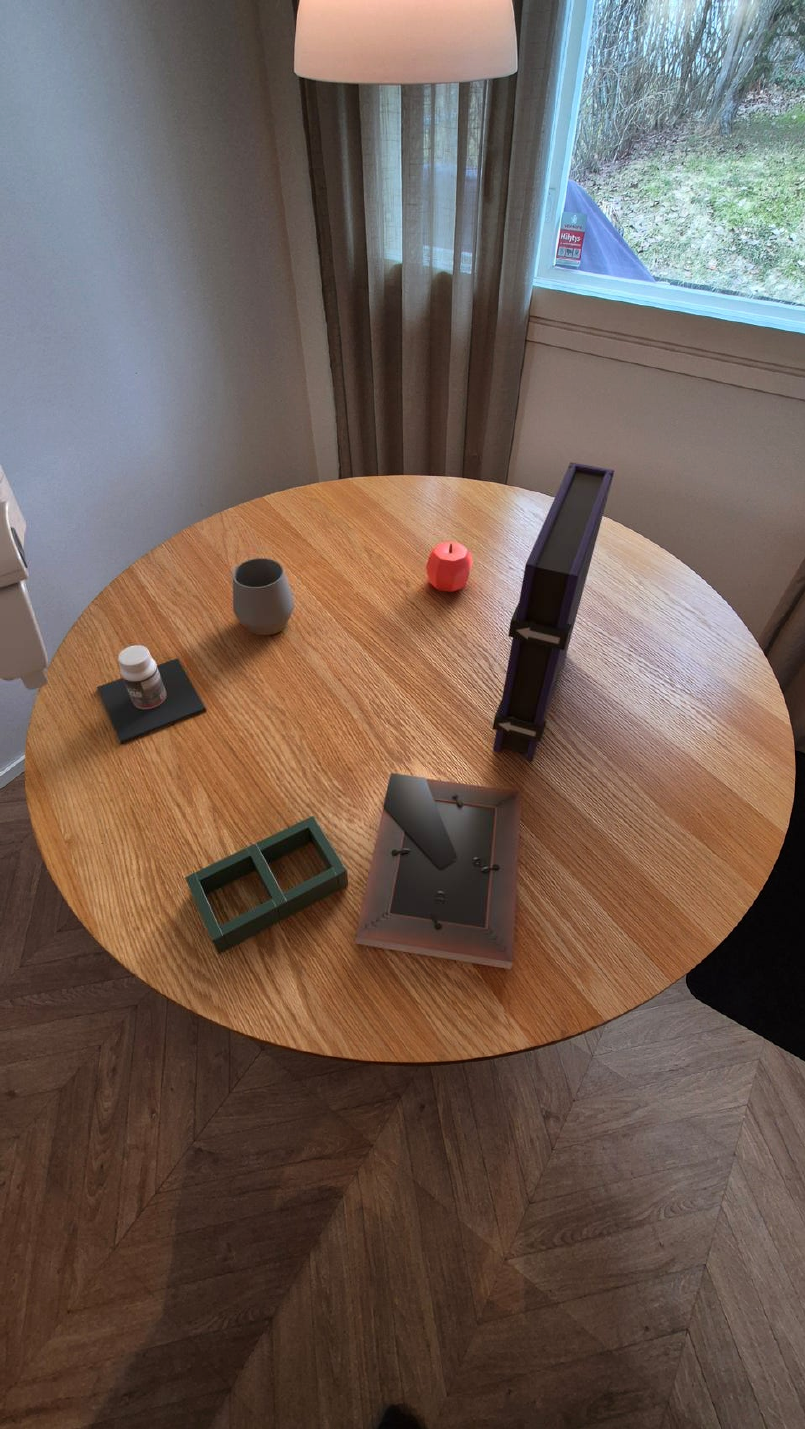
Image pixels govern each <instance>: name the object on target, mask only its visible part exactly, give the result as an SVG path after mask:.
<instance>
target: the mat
mask: <svg viewBox="0 0 805 1429" xmlns="http://www.w3.org/2000/svg"><path fill="white" fill-rule="evenodd" d="M156 665H157V668H158V671H159V673H160V676H161V679H162V682H163V685H164V687H165V690H166V698H165V700H164V702H163V703H162V704H160V705H159V706H157V707H155V708H152V709H140V708H138V707H136V706H135V705H134V704H133V702H132V700H131V697H130V695H129V693H128V690H127V688H126V686H125V683H124V681H123V679H122V677H120V678H118V679H115V680H112V681H110V682H107V683H104V684H102V685H98V686H97V687H96V689H97V691H98V693H99V696H100V698H101V701H102V703H103V705H104V707H105V710H106V712H107V714H108V717H109V719H110V722H111V724H112V727H113V730H114V732H115V733H116V737H117V738H118V741H119V744H120V745H122V744H125V743H128V742H130V741H133V740H135V739H138V738H140V737H143V736H145V735H148V734H151V733H153V732H156V731H158V730H161V729H163V728H166V727H168V726H171V725H173V724H176V723H178V722H181V721H183V720H184V721H185V720H186V719H188V718H191V717H194V716H196V715H199V714H201V713H205V712H207V708H206V706H205V704H204V703H203V701H202V699H201V697H200V695H199V693H198V692H197V690H196V689H195V687H194V685H193V683H192V681H191V679H190V677H189V676H188V674H187V672H186V670H185V669H184V667H183V665H182V663H181V662H180V660H179V658H178V657H176V658H174V659H171V660H168V661H165V662H163V663H159V664H156Z"/></svg>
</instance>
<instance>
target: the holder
mask: <svg viewBox="0 0 805 1429" xmlns="http://www.w3.org/2000/svg"><path fill="white" fill-rule="evenodd" d="M331 843H332V842H330V840H329V839H328V837H327V835H326V834H325V832H324V831H323V829H322V827H321V825H320V824H319V822H318V821H317V818H315V815H312V816H309V817H307V818H306V819H303V820H300V821H299V822H297V823H295V824H292V825H291V826H289V827H286V828H284V829H281V830H280V831H278V832H276V833H274V834H272V835H270V836H268V837H265V838H264V839H261V840H259V841H258V842H256V843H254V844H251V845H250V846H247V847H244V848H243V849H240V850H239V851H236V852H235V853H232V854H231V855H228V856H226V857H224V858H222V859H220V860H218V861H216V862H214V863H212V864H210V865H207V866H205V867H203V868H201V869H199V870H197V871H195V872H193V873H191V874H189V875H186V876H185V877H184V879H185V882H186V884H187V886H188V889H189V891H190V893H191V896H192V898H193V900H194V903H195V905H196V907H197V910H198V912H199V914H200V916H201V919H202V921H203V924H204V926H205V928H206V931H207V933H208V935H209V937H210V940H211V941H212V944H213V946H214V948H215V950H216V952H217V954H218V955H221V954H223V953H225V952H227V951H229V950H230V949H232V948H234V947H236V946H238V945H240V944H241V943H243V942H245V941H247V940H250V939H251V938H252V937H255V936H256V935H258V934H261V933H262V932H264V931H266V930H268V929H270V928H272V927H274V926H275V925H277V924H279V923H281V922H283V921H285V920H286V919H288V918H290V917H291V916H294V915H296V914H298V913H300V912H302V911H303V910H306V909H307V908H309V907H311V906H313V905H314V904H316V903H318V902H321V901H322V900H324V899H326V898H327V897H330V896H332V895H333V894H335V893H337V892H339V891H341V890H343V889H344V888H347V887H348V886H349V878H348V870H347V868H346V866H345V865H344V863H343V861H342V860H341V858H340V856H339V855H338V853H337V851H336V850H335V848H334V847H333V845H332V844H331ZM310 844H311V845H312V846H313V847H312V848H314V850H315V852H316V854H317V855H318V857H319V858H320V860H321V862H322V863H323V865H324V867H325V870H324V871H321V872H320V873H318V874H316V875H315V876H313V877H310V878H309V879H307V880H305V881H303V882H301V883H299V884H297V885H295V886H293V887H291V888H289V889H287V890H285V891H284V892H283V891H282V889H281V887H280V885H279V883H278V882H277V879H276V877H275V876H274V873H273V872H272V870H271V868H270V866H269V865H270V864H272V863H274V862H276V861H278V860H280V859H282V858H284V857H286V856H288V855H291V854H292V853H294V852H296V851H298V850H300V849H302V848H304V847H306V846H309V845H310ZM254 872H255V873H256V875H257V878H258V879H259V881H260V883H261V885H262V887H263V889H264V891H265V893H266V895H267V897H268V899H269V900H267V901H264V902H263V903H261V904H258V905H256V906H254V907H253V908H251V909H250V910H247V911H245V912H243V913H241V914H239V915H238V916H236V917H234V918H232V919H229V920H228V921H226V922H224V923H223V924H219V922H218V921H217V918H216V915H215V914H214V911H213V909H212V907H211V904H210V901H209V900H208V898H207V896H208V895H211V894H212V893H214V892H216V891H218V890H220V889H222V888H224V887H226V886H228V885H230V884H232V883H235V882H236V881H238V880H240V879H242V878H245V877H247V875H250V874H252V873H254Z"/></svg>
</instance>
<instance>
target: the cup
mask: <svg viewBox="0 0 805 1429" xmlns="http://www.w3.org/2000/svg"><path fill="white" fill-rule="evenodd" d="M232 610H233V613H234V615H235V617H236V618H237V620H238V621H239V622H240V623H241V624H242V625H243V626H244V627H245V628H246V629H247V630H248V631H249V632H251V633H253V634H255V635H258V636H272V635H275V634H277V633H279V632H282V631H283V629H285V628H286V626H287V625H288V622H289V620H290V619H291V616H292V615H293V611H294V610H295V598H294V595H293V593H292V589H291V587H290V584H289V581H288V578H287V575H286V573H285V570H284V567H283V566H282V565H281V563H279V562H278V561H276V560H275V559H272V558H266V557H256V558H251V559H247V560H245V561H243V562H241V563H239V564H238V565H237V566H235V568H234V570H233V571H232Z"/></svg>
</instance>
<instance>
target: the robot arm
mask: <svg viewBox="0 0 805 1429" xmlns="http://www.w3.org/2000/svg"><path fill="white" fill-rule="evenodd" d="M26 532H27V522H26V520H25V517H24V515H23V513H22V511H21V508H20V506H19V504H18V502H17V499H16V497H15V494H14V492H13V490H12V488H11V485H10V483H9V480H8V478H7V476H6V473H5V472H4V468H3V467H2V465H1V464H0V679H2V680H3V681H7V682H10V681H14V680H17V679H20V680H21V681H22V683H23V685H24V687H25V688H26V689H27V690H29V691H31V690H32V691H33V690H36V689H39V688H42V687H45V686H47V684H49V682H48V681H49V680H48V678H47V676H46V672H45V670H46V669H47V668H48V666H49V657H48V654H47V650H46V646H45V642H44V640H43V636H42V634H41V630H40V628H39V623H38V620H37V618H36V615H35V612H34V609H33V606H32V602H31V599H30V595H29V592H28V588H27V584H26V580H28V579H29V577H30V574H29V571H28V569H27V568H28V564H27V561H26V556H25V550H24V549H25V534H26Z"/></svg>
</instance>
